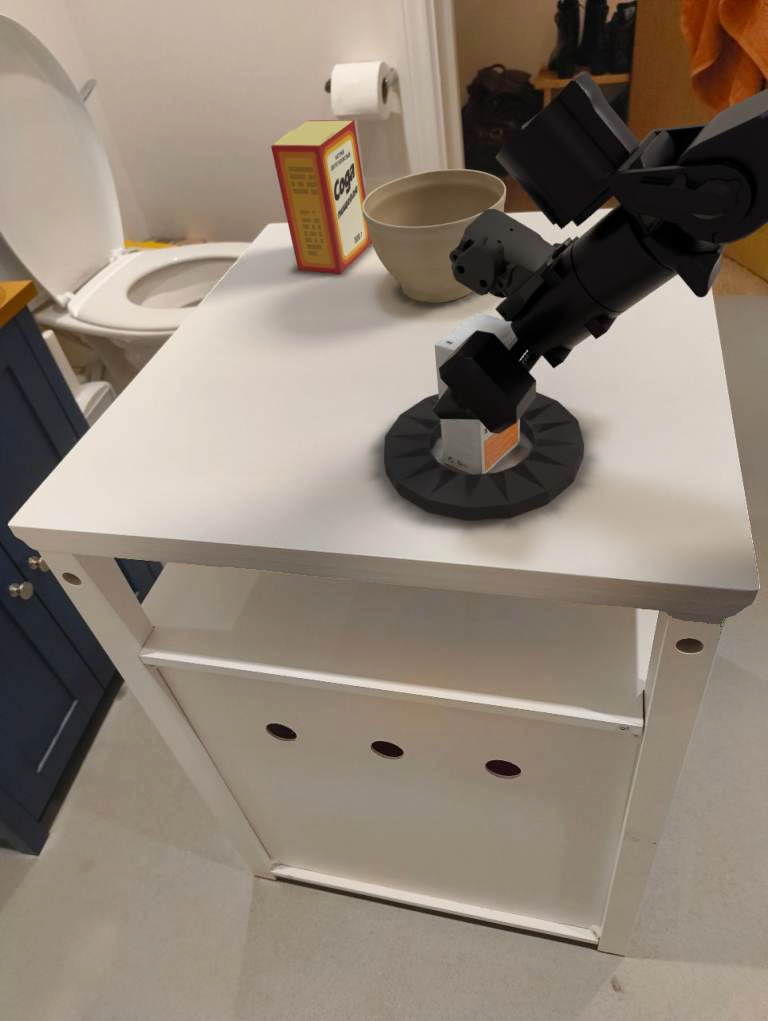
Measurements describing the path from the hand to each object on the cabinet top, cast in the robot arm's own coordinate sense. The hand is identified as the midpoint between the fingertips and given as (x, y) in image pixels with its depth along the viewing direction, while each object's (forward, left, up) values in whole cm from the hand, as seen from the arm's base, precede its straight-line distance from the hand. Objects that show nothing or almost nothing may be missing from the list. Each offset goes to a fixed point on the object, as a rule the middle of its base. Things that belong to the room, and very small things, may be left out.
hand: (463, 382), depth 61 cm
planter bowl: (+2, -32, -7) cm, 33 cm away
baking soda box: (+16, -44, -7) cm, 48 cm away
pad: (-1, +1, -7) cm, 7 cm away
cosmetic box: (-1, +1, -7) cm, 7 cm away
